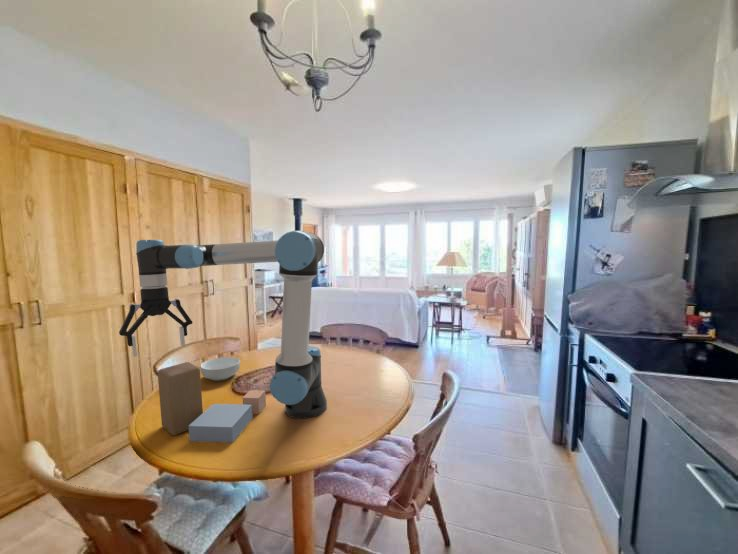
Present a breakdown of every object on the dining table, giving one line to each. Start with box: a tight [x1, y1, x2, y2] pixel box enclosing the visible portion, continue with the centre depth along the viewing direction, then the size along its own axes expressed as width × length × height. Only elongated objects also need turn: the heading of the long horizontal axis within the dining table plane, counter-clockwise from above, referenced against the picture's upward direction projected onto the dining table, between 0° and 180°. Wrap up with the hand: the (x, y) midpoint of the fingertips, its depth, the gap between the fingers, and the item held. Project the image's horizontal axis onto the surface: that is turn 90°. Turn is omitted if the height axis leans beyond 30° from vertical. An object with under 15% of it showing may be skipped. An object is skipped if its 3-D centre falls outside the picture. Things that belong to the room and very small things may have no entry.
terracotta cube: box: [242, 389, 267, 415], centre depth 119 cm, size 6×6×6 cm
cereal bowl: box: [199, 356, 241, 382], centre depth 149 cm, size 17×17×7 cm
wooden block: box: [157, 361, 204, 436], centre depth 108 cm, size 10×10×20 cm
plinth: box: [188, 403, 254, 444], centre depth 106 cm, size 14×14×5 cm
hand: (159, 350), depth 107 cm, fingers open, 13 cm apart
